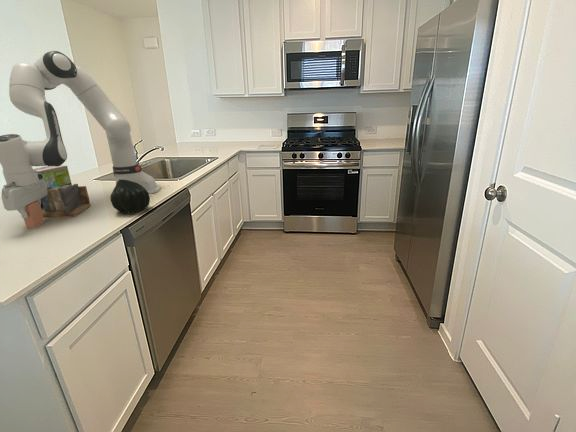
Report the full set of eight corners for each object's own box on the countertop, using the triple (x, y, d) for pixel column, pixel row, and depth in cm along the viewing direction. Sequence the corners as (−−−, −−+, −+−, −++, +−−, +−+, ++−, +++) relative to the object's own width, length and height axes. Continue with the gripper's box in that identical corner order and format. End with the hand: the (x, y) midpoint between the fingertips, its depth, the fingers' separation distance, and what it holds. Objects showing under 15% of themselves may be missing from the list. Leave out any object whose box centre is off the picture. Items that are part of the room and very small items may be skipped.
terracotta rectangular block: (44, 221, 127) (37, 200, 123) (35, 227, 121) (28, 205, 118) (36, 222, 126) (29, 201, 123) (26, 228, 121) (19, 206, 118)
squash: (157, 199, 135) (141, 170, 137) (122, 209, 125) (105, 178, 126) (150, 214, 145) (134, 187, 147) (117, 224, 135) (101, 196, 136)
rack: (91, 205, 145) (84, 181, 141) (75, 216, 132) (68, 190, 128) (44, 208, 143) (37, 184, 139) (24, 219, 130) (15, 192, 126)
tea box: (49, 200, 156) (40, 170, 151) (33, 199, 158) (23, 170, 153) (74, 191, 170) (67, 164, 164) (59, 191, 172) (51, 164, 166)
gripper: (10, 186, 108) (23, 223, 113) (46, 173, 127) (55, 205, 132) (-10, 186, 107) (4, 224, 112) (29, 173, 126) (39, 206, 131)
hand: (32, 214), depth 122 cm, fingers closed on terracotta rectangular block, 6 cm apart
